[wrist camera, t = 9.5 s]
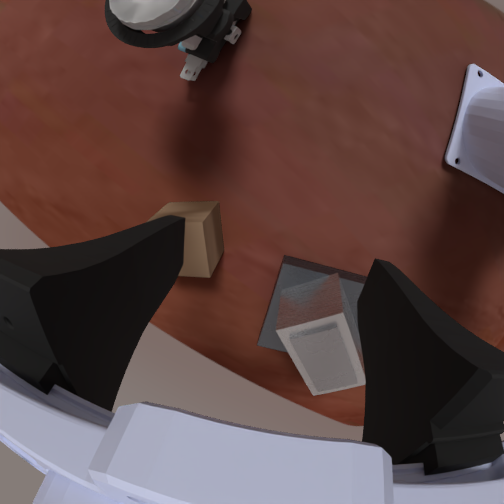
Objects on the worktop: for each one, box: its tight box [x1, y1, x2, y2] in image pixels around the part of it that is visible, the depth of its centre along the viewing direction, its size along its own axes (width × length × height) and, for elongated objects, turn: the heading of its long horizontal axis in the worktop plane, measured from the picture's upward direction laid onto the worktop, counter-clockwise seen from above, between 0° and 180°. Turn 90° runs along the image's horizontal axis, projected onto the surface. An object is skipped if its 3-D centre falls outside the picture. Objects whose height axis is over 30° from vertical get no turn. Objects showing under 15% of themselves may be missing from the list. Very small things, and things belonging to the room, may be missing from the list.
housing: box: [276, 273, 366, 396], centre depth 21 cm, size 8×4×5 cm, turn 26°
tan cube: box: [147, 201, 224, 278], centre depth 21 cm, size 4×4×4 cm
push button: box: [105, 0, 252, 81], centre depth 11 cm, size 7×5×10 cm
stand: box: [257, 255, 367, 352], centre depth 24 cm, size 10×9×1 cm
